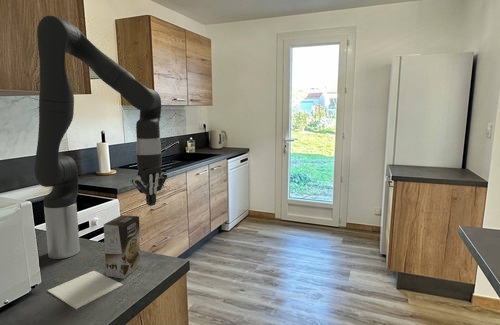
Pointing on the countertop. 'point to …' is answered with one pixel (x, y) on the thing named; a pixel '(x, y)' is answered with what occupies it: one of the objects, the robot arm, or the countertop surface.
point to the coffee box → (122, 246)
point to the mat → (84, 289)
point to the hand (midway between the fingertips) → (151, 205)
